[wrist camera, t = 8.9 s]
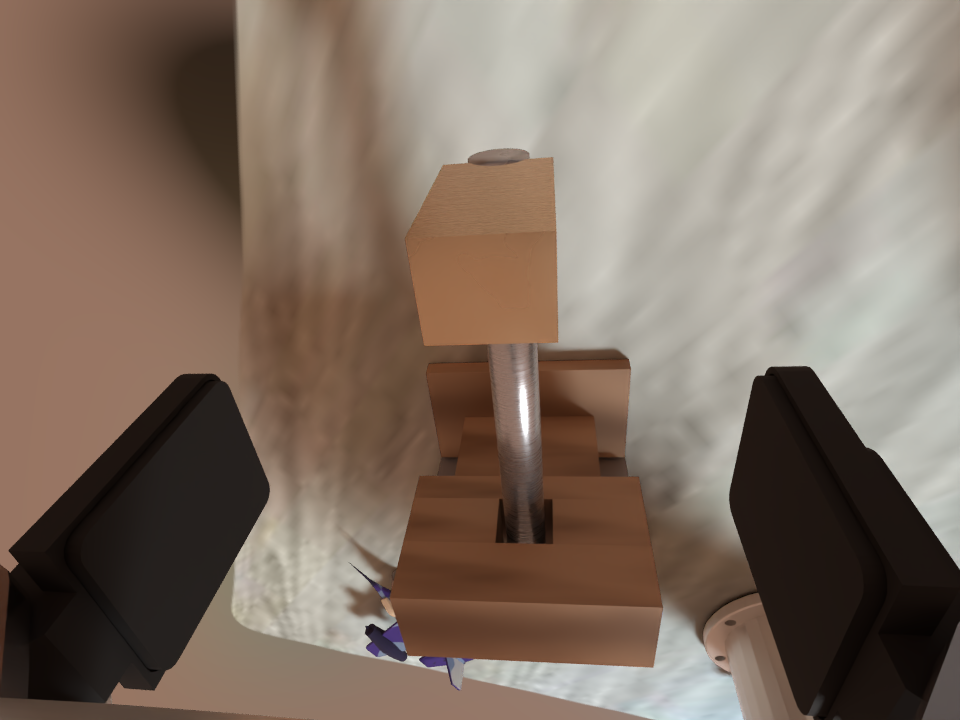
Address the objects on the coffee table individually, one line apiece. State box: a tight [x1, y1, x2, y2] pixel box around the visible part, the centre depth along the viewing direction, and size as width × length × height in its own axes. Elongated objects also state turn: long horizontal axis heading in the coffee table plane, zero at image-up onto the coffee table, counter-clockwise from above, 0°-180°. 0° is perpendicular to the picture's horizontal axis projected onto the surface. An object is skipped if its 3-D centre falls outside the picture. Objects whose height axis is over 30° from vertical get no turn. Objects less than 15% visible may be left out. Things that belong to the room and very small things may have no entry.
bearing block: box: [390, 359, 663, 667], centre depth 30 cm, size 8×12×14 cm
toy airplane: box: [350, 563, 473, 690], centre depth 48 cm, size 13×14×4 cm
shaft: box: [405, 148, 558, 544], centre depth 22 cm, size 22×4×8 cm, turn 5°
